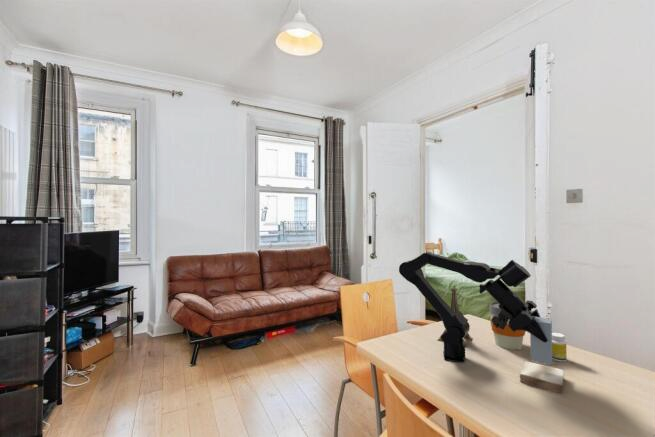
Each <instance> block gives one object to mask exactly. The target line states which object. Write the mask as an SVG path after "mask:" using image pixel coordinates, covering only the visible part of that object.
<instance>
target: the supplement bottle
mask: <svg viewBox="0 0 655 437" xmlns="http://www.w3.org/2000/svg"><path fill="white" fill-rule="evenodd" d="M567 358H568V357H567V342H566V337H565V335H564V334H563V333H558V332H552V361H556V362H559V363H564V362H566V361H567Z"/></svg>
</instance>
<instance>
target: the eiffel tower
mask: <svg viewBox="0 0 655 437" xmlns="http://www.w3.org/2000/svg"><path fill="white" fill-rule="evenodd" d="M450 291H451V299H450V301H451V303H450V309H451V310H453V311H454V312H456V313H457V312H459V311H460V310H459V304H458V297H457V291H459V290H458V288H457V287H455V286H453V287H451V288H450ZM446 331H447V330H446V329H445V328H444V331H443V332H442V334H443V333H445V332H446ZM473 338H474V337H471V335H470V334H469V332H468V333H467V334H466V335H465V337H464V338H463V339H462V340H463V343H464V345H465V348H466V347H467V346H468V344H467V343H466V341H471V342H472V341H473ZM465 340H466V341H465ZM436 341H438V342H441V343H444V342H443V341H442V338H441V335H440V336H439V338H438V339H437V340H436Z"/></svg>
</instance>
